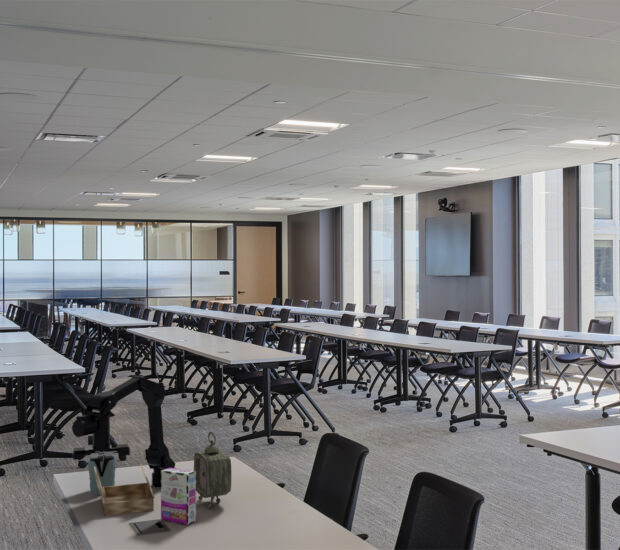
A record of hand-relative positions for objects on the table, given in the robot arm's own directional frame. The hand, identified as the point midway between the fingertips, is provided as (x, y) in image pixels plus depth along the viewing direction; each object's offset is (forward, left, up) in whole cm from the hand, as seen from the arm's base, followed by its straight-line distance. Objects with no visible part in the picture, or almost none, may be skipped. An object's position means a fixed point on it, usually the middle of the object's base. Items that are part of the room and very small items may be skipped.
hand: (101, 476), depth 255 cm
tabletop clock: (-37, +9, -11) cm, 40 cm away
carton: (-8, 0, -10) cm, 13 cm away
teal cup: (-1, -19, -11) cm, 22 cm away
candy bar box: (-23, +23, -11) cm, 34 cm away
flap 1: (+1, 0, -3) cm, 3 cm away
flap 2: (-15, 0, -3) cm, 15 cm away
